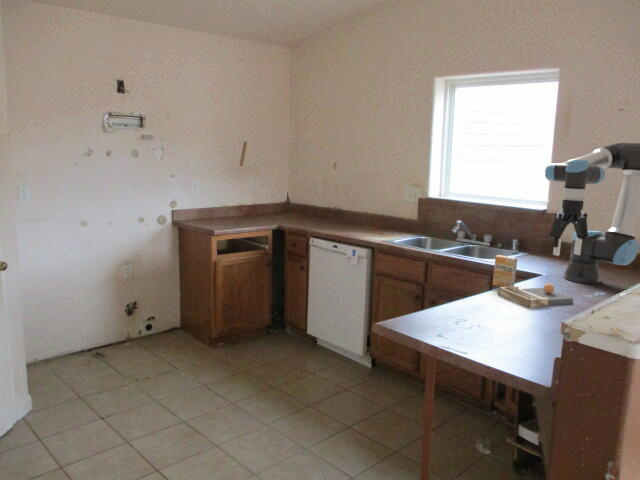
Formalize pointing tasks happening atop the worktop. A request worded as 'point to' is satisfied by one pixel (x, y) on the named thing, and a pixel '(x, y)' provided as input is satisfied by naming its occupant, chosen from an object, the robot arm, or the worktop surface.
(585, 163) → the robot arm
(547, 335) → the worktop surface
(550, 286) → the ball
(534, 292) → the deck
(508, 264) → the supplement box
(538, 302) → the wooden tray frame
